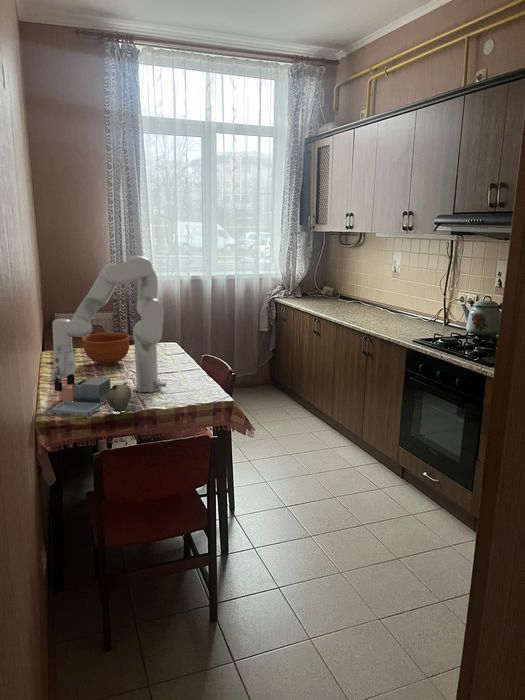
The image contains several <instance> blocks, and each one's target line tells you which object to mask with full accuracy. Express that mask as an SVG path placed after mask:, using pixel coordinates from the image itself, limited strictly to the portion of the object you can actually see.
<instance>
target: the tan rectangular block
mask: <svg viewBox="0 0 525 700" xmlns="http://www.w3.org/2000/svg"><path fill="white" fill-rule="evenodd" d="M57 392H58V401H59V400H62V402H64V401H73V392H72V385H70V384H67V383H64V384H62V391H61V392H60V391H57ZM63 400H64V401H63Z"/></svg>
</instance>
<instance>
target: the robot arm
mask: <svg viewBox="0 0 525 700" xmlns="http://www.w3.org/2000/svg"><path fill="white" fill-rule="evenodd" d="M135 281H137V299H136V311H137V314H139V315H140V317H141V318H140V320H139V321H137V322H136V324H135V325H134V326H133V329H132V335H133V336H132V337H133V342H134V351H135V352H134V354H135V355H134V356H135V357H134V358H135V361H134V362H135V379H136V381H135V383H136V384H135V385H133V387H132V390H133V389H134V390H135V391H134V390H133V391H134V392H136V391H139V392H138V393H141V392H149V393H152V392H151V391H155V392H157V391H156V390H158V391H160V390H161V389H162V388H166V387H167V383H166V381H161V379H160V378H159V377H158V375H159V374H158V351H157V350H158V349H157V348H158V347H157V344H158V343H159V342H160V341H161V339H162V336H163V327H164V312H165V311H164V306H163V304H162V302H161V301H160V300H158V295H159V292H158V290H159V284H158V283H159V281H158V276H157V274H156V272H155V271H154V268H153V265H152V262H151V260H150V259H148V258H147V257H144V256H141V255H133V256H132V255H131V256H130V257H129V258H128V259H127V261H123V262H120V263H107V264H105V265H104V266H103V267H102V269H101V270H100V272H99V274H98V276H97V278H96V279H95V281H94V283H93V285H92V286H91V288H90V290H89V291H88V293H87V294H86V295H85V297H84V298H83V300H82V301H81V303H80V304H79V305H78V307H77V308H76V310H75V313H73V316H72V318H71V320H70V318H69V319H68V318H56V319H54V320H53V321H52V342H53V365H52V366H53V371H52V372H51V377H52V378H51V379H52V381H53V383H54V392H58V391H60V392H61V391H62V385H63V382H62V379H63V378H66V384H70V385H74V384H76V382H75V381H76V380H75V375H76V374H75V373H76V371H77V370H76V369H77V364H76V360H75V359H76V358H75V355H74V352H73V349H74V347H73V337H76V338H77V337H79V338H83V337H86V336H88V335H91V334H92V332H93V325H92V323H91V321H92V319H93V318H94V316H95V315H96V313H97V312H98V310H100V309H101V308H102V307H104V306H106V304H108V302H109V300H110V299H111V296H112V295H113V294H114V292H115V290H116V288H117V286H121V285H124V284H128V283H131V282H135ZM159 389H160V390H159Z"/></svg>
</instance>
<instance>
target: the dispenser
mask: <svg viewBox="0 0 525 700" xmlns="http://www.w3.org/2000/svg"><path fill="white" fill-rule="evenodd" d="M111 388H112V386H111V378H107V377H105V378H104V377H91V378H90V379H88V378H83V379H82V380H80V381H78V382H75V384H74V385H72V392H73V402H85V403H99V404H101V403H103V402H104V401H106V395H107V393H108V391H109V390H110V389H111ZM106 402H107V401H106ZM103 404H104V403H103Z"/></svg>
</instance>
